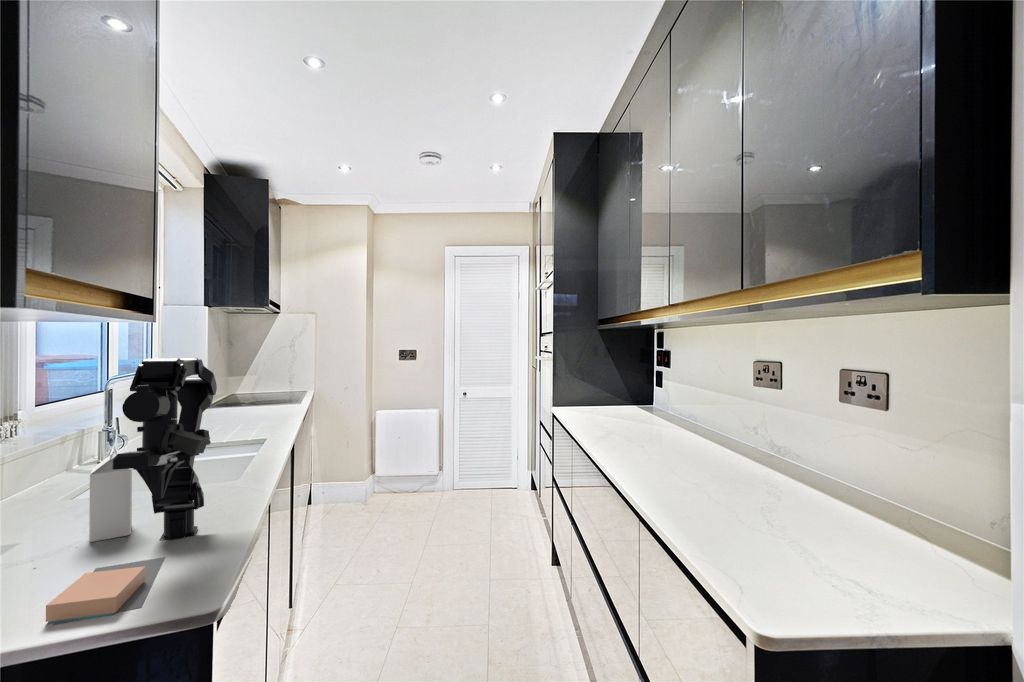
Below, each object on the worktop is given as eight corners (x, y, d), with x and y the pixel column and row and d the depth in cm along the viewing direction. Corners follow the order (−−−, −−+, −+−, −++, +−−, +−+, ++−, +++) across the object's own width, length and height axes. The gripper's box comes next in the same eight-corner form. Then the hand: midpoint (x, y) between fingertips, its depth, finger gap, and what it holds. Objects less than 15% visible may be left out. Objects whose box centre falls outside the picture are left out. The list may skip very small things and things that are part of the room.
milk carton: (88, 543, 106) (89, 456, 106) (92, 532, 112) (93, 450, 112) (130, 535, 110) (130, 452, 110) (131, 526, 116) (132, 446, 116)
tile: (85, 573, 85) (45, 605, 74) (145, 566, 88) (115, 596, 77) (85, 588, 85) (45, 623, 74) (145, 581, 88) (115, 614, 77)
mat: (95, 571, 93) (95, 568, 93) (165, 559, 98) (165, 556, 98) (52, 629, 74) (52, 625, 74) (141, 611, 79) (141, 607, 79)
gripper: (175, 420, 90) (174, 506, 88) (224, 415, 108) (224, 486, 107) (110, 424, 89) (108, 511, 87) (171, 418, 107) (170, 490, 105)
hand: (159, 498), depth 97 cm, fingers closed
